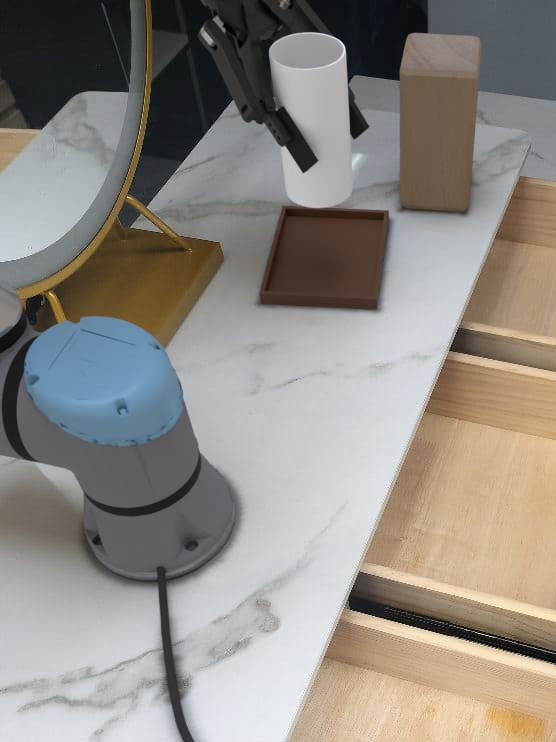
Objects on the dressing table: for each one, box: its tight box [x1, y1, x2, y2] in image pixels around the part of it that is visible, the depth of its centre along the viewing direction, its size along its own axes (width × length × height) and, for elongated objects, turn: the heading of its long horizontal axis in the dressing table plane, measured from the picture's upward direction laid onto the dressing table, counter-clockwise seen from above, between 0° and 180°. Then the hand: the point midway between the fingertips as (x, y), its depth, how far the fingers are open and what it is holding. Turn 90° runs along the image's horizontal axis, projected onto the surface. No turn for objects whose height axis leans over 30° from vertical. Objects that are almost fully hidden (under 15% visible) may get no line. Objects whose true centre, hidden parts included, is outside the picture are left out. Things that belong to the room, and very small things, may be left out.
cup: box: [268, 33, 354, 208], centre depth 93 cm, size 8×8×16 cm
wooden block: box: [399, 32, 483, 212], centre depth 112 cm, size 10×10×20 cm
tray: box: [259, 205, 390, 310], centre depth 111 cm, size 19×15×2 cm
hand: (336, 149), depth 94 cm, fingers closed on cup, 8 cm apart
